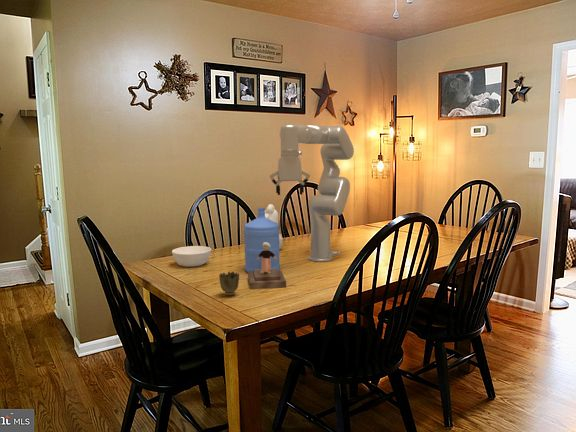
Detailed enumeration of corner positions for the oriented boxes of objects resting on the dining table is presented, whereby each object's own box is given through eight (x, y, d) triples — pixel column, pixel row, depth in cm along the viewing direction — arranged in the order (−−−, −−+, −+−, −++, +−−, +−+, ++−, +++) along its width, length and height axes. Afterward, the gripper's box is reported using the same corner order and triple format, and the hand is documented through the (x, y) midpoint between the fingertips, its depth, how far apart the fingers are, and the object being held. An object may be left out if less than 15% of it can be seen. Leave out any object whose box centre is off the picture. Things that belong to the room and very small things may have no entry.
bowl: (193, 258, 229) (192, 244, 228) (219, 263, 218) (219, 248, 217) (164, 266, 214) (163, 251, 213) (191, 271, 204) (190, 255, 202)
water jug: (281, 274, 197) (280, 210, 193) (244, 275, 196) (242, 211, 192) (279, 265, 212) (278, 206, 208) (245, 266, 211) (243, 206, 207)
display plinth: (281, 276, 194) (281, 267, 193) (286, 287, 178) (286, 277, 178) (248, 278, 192) (248, 268, 191) (250, 289, 176) (250, 279, 176)
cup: (222, 299, 165) (221, 277, 163) (217, 293, 171) (216, 273, 170) (242, 296, 167) (241, 275, 166) (236, 291, 174) (235, 270, 173)
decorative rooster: (262, 246, 257) (261, 202, 254) (288, 248, 251) (288, 203, 248) (241, 255, 234) (240, 207, 231) (269, 257, 228) (268, 208, 225)
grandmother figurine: (257, 274, 183) (256, 243, 181) (257, 271, 186) (256, 241, 185) (276, 273, 183) (276, 242, 181) (276, 271, 187) (275, 240, 185)
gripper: (308, 154, 198) (308, 193, 201) (268, 154, 196) (269, 194, 198) (311, 154, 191) (311, 195, 193) (270, 154, 188) (270, 195, 191)
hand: (289, 194), depth 196 cm, fingers open, 9 cm apart
